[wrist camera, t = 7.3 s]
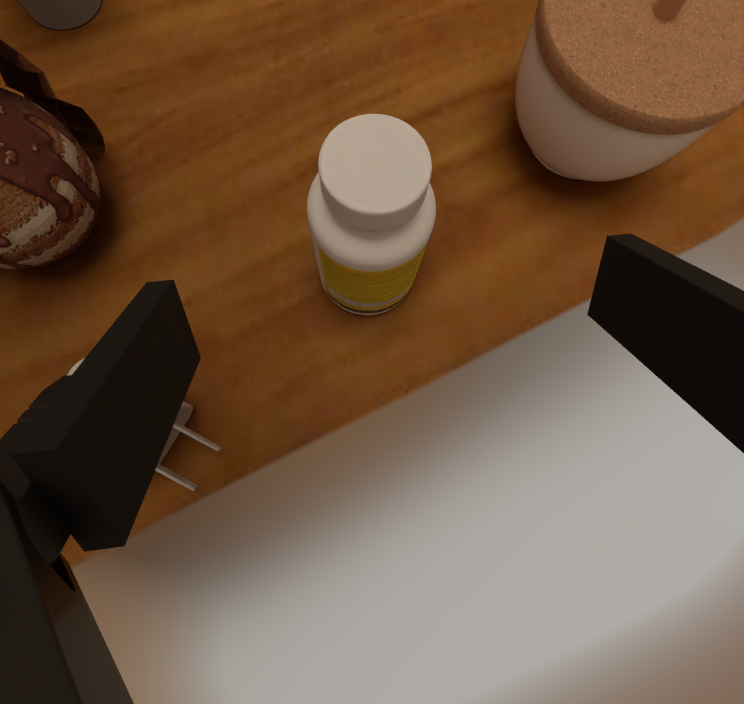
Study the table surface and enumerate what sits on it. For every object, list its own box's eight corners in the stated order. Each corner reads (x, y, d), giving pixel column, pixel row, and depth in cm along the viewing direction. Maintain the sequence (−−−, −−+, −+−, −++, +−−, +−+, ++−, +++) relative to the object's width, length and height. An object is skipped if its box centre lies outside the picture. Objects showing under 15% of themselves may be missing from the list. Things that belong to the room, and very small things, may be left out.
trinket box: (507, 46, 28) (581, -148, 18) (667, 86, 27) (824, -91, 18) (474, 189, 25) (540, 50, 16) (648, 233, 25) (814, 117, 16)
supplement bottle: (428, 298, 24) (476, 206, 14) (338, 330, 23) (325, 256, 14) (394, 216, 25) (418, 77, 15) (307, 245, 24) (274, 120, 15)
